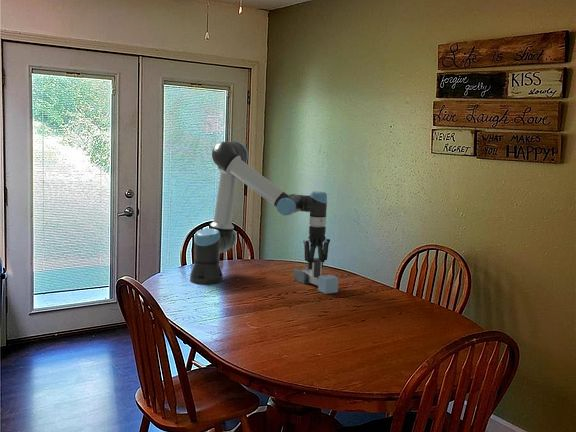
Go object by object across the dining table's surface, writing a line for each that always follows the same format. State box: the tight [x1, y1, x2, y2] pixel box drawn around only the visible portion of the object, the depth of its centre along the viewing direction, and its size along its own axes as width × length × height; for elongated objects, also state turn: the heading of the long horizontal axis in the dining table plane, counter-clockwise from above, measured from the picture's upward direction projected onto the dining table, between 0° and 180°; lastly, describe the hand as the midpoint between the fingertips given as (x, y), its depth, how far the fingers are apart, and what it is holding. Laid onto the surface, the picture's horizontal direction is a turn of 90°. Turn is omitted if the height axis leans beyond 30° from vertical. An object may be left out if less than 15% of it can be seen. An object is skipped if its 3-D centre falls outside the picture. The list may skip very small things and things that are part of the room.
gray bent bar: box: [301, 257, 321, 287], centre depth 274 cm, size 16×3×11 cm, turn 30°
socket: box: [317, 274, 339, 295], centre depth 263 cm, size 6×7×7 cm
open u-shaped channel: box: [293, 266, 311, 285], centre depth 280 cm, size 9×7×5 cm
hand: (315, 275), depth 272 cm, fingers closed on gray bent bar, 3 cm apart
